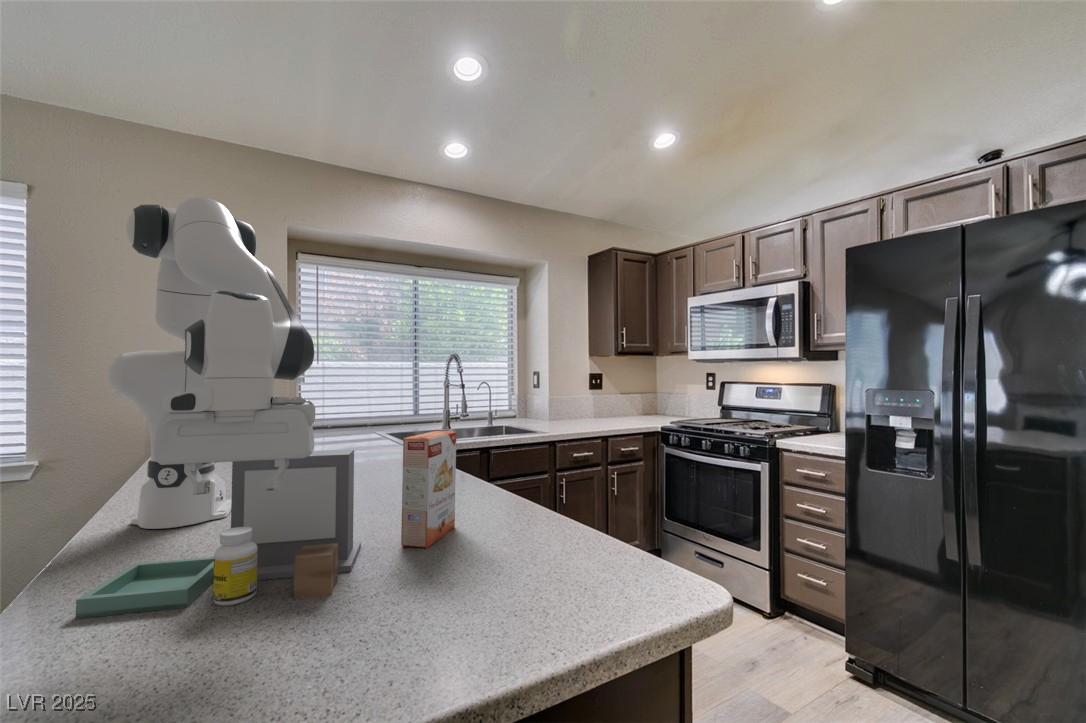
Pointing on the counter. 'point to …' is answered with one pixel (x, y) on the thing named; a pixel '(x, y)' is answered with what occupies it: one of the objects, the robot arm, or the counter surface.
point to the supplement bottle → (235, 567)
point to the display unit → (296, 509)
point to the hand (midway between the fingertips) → (237, 491)
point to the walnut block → (315, 571)
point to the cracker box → (428, 487)
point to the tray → (149, 588)
